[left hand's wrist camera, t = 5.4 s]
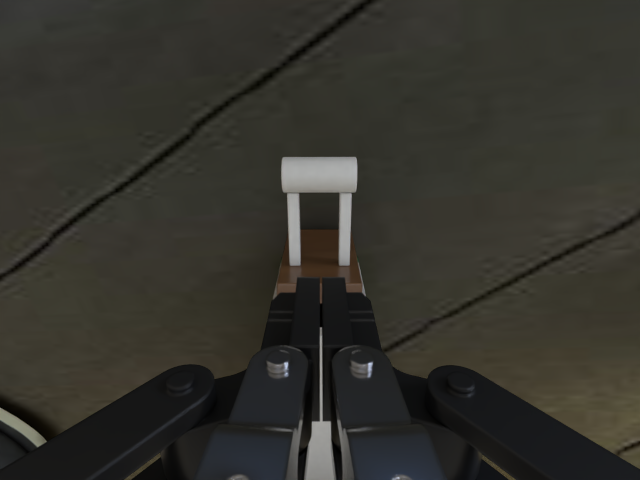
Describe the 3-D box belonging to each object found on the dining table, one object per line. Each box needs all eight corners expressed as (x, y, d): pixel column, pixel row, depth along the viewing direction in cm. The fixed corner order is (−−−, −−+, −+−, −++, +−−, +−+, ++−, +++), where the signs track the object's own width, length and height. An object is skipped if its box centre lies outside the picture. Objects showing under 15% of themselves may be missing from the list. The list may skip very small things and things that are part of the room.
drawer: (285, 141, 25) (270, 166, 18) (353, 141, 25) (367, 166, 18) (294, 406, 33) (286, 499, 26) (345, 406, 33) (353, 499, 26)
